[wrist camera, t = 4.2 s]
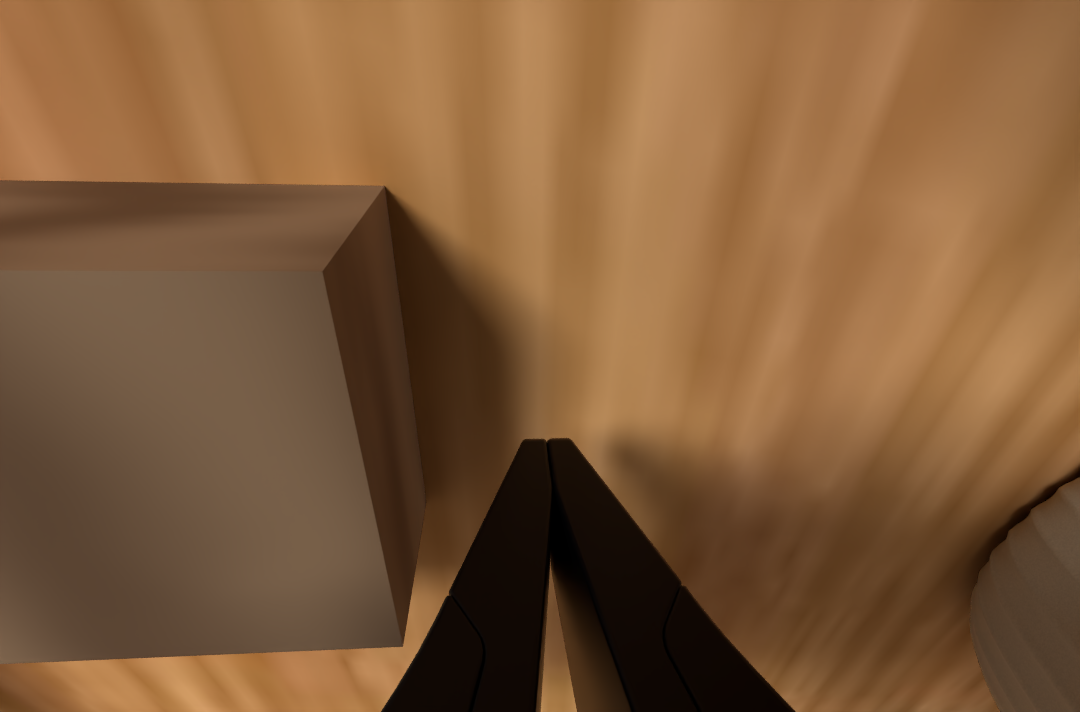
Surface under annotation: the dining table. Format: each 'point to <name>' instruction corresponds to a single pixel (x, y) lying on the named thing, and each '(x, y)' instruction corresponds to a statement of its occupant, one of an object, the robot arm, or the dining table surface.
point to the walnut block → (202, 421)
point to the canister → (1033, 610)
